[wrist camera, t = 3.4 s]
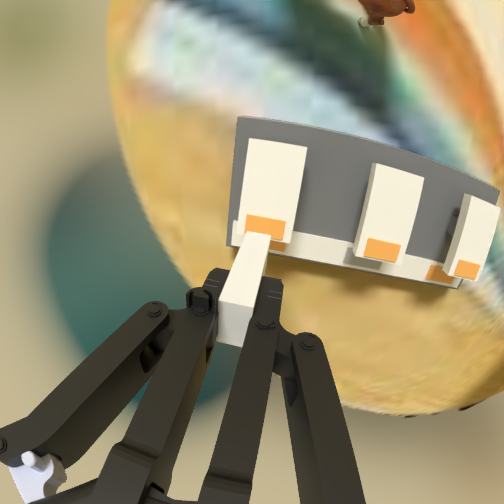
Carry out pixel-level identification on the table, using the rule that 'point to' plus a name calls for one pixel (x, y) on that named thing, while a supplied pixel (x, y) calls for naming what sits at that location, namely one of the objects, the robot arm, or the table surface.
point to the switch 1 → (271, 188)
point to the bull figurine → (384, 10)
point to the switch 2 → (471, 238)
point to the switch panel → (357, 200)
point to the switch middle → (388, 214)
